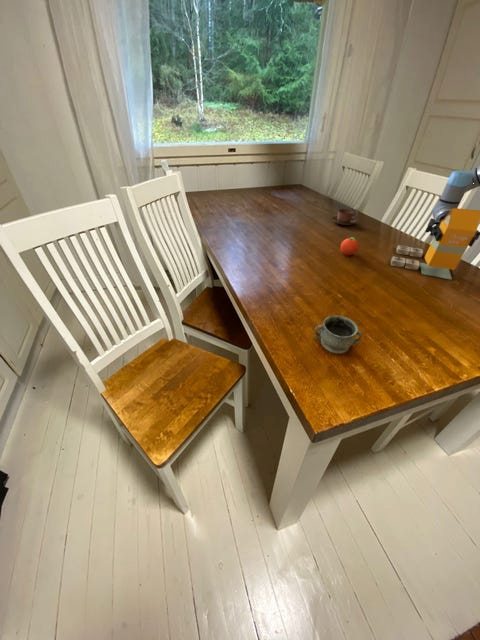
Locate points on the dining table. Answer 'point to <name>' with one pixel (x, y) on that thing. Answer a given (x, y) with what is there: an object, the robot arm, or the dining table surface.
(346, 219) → the cup and saucer
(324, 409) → the dining table surface
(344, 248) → the tomato
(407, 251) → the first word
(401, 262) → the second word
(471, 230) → the orange juice
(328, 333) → the vessel
